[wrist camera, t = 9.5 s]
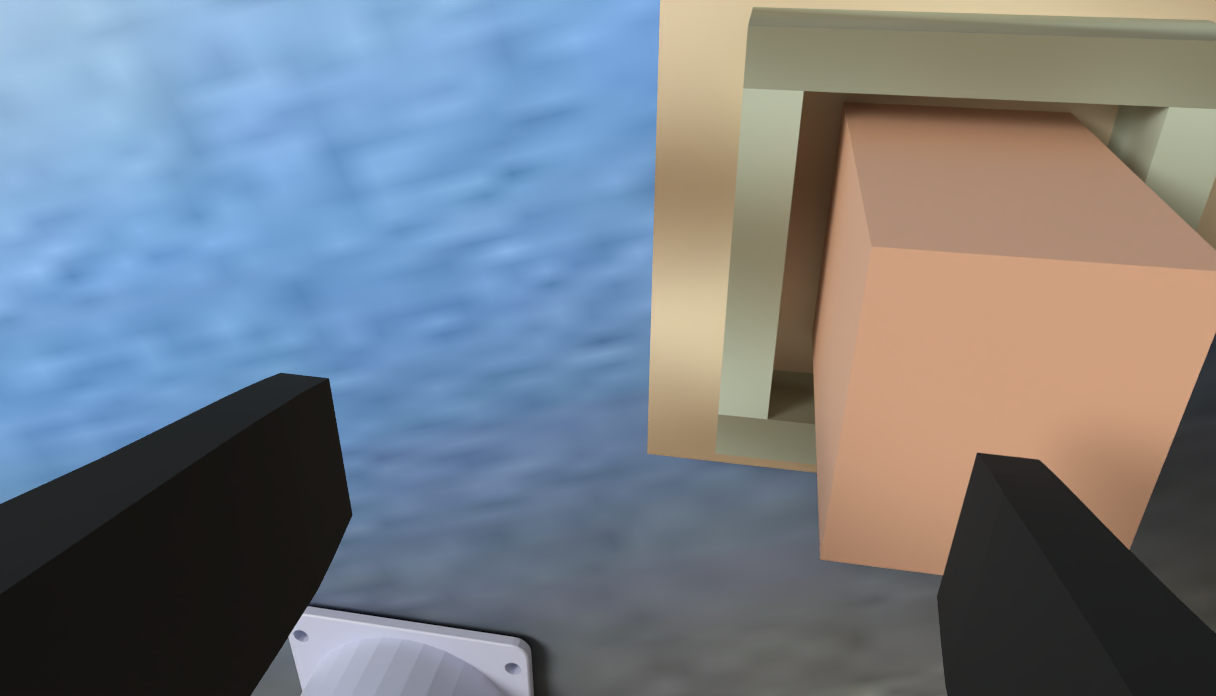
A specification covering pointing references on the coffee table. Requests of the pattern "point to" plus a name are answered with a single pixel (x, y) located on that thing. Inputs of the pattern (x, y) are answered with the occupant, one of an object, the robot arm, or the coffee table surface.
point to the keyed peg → (994, 323)
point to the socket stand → (806, 153)
